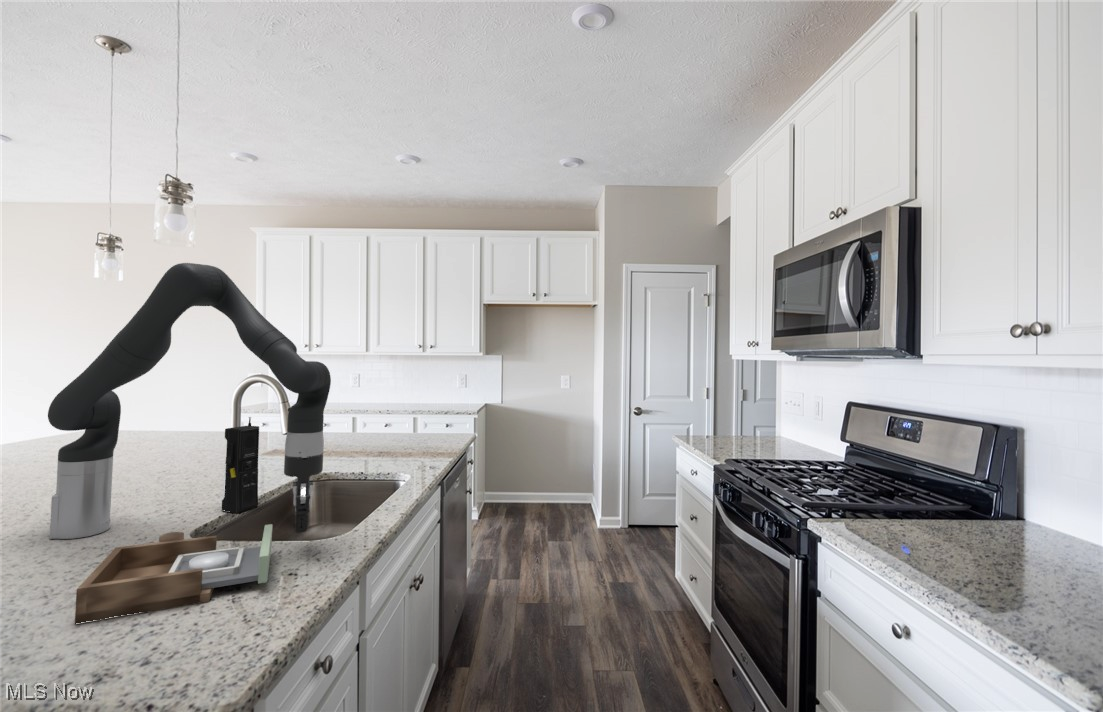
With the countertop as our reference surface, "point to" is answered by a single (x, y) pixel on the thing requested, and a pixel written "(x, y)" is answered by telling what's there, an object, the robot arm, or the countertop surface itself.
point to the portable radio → (241, 468)
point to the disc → (209, 561)
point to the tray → (234, 564)
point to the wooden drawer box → (142, 580)
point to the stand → (171, 536)
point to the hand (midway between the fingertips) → (301, 531)
